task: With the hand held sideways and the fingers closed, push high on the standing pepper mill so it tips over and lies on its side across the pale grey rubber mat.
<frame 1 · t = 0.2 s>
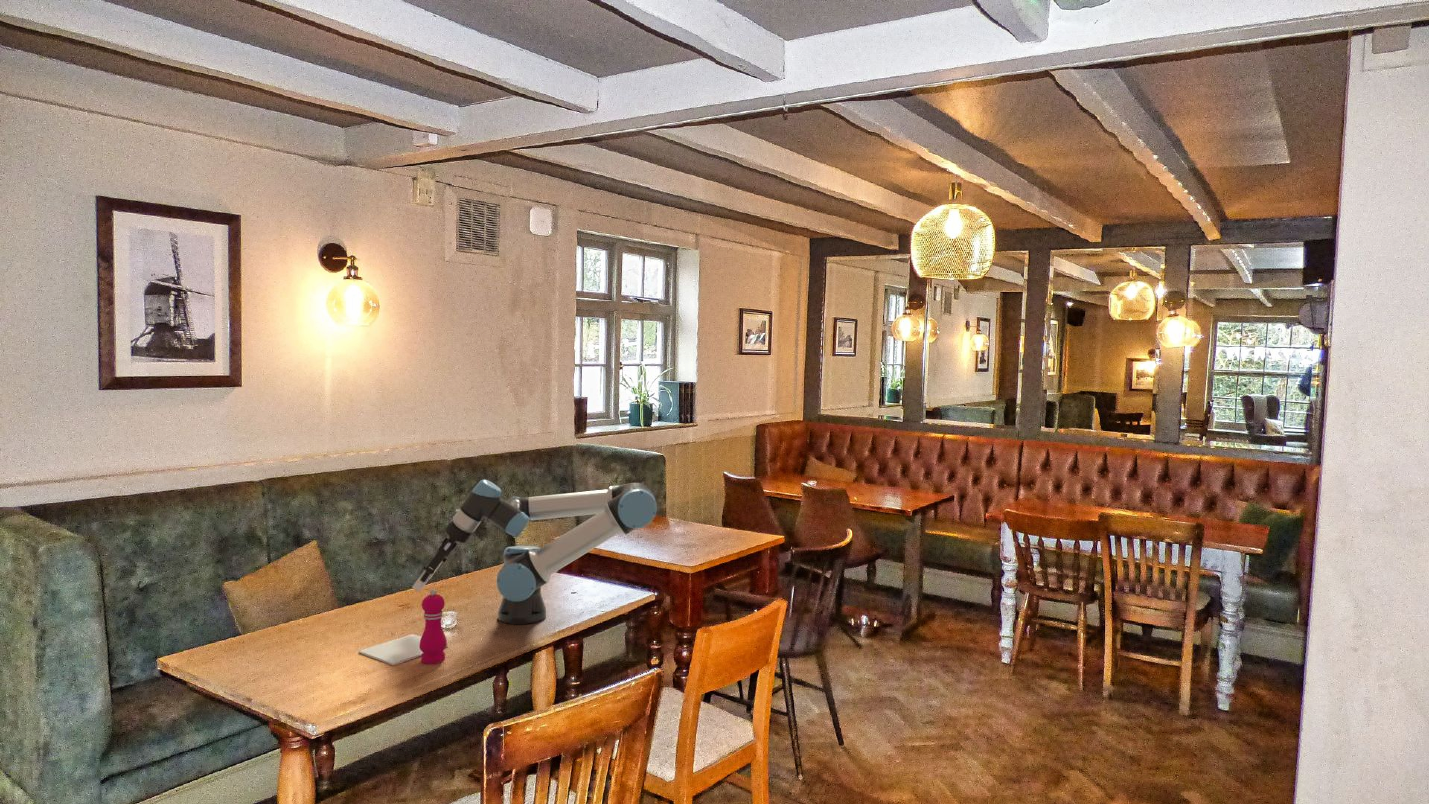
hand: (421, 583, 259), 15 cm above the table, tool tilted 35°, fingers open, 13 cm apart
pepper mill: (433, 660, 237), on the table
grey rubber mat: (403, 650, 244), on the table
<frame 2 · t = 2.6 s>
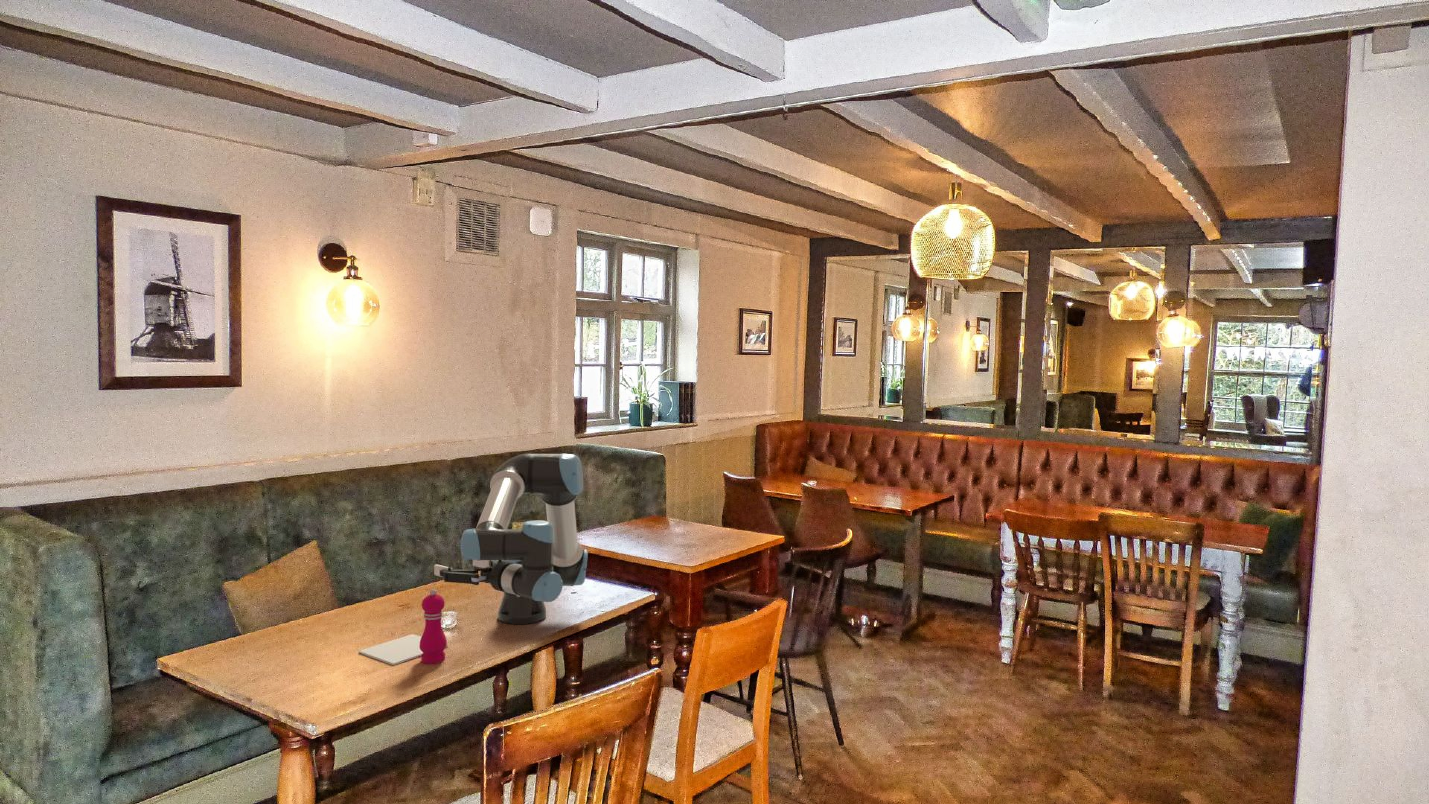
hand: (455, 564, 230), 28 cm above the table, tool horizontal, fingers open, 12 cm apart
nothing on the table moved.
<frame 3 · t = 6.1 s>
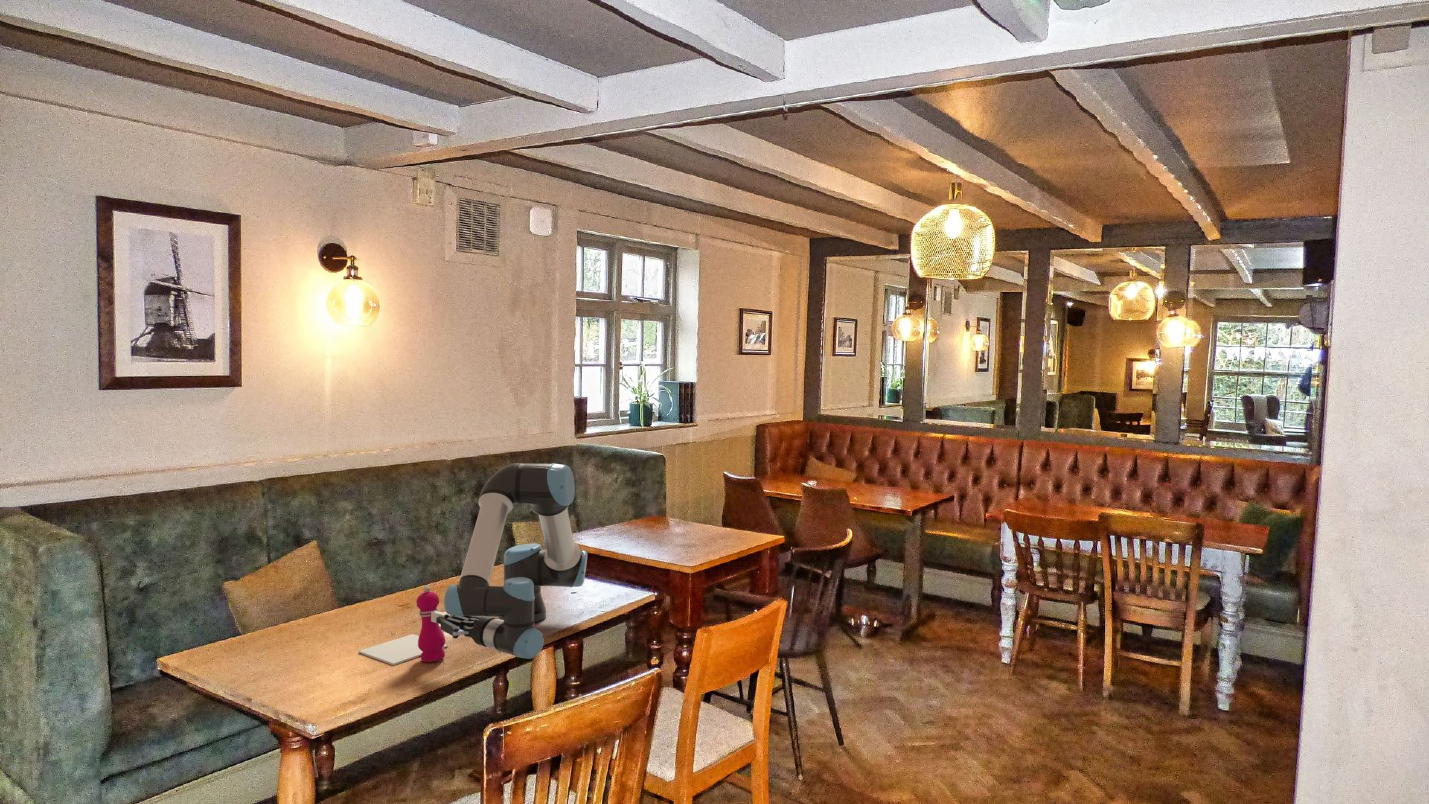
hand: (433, 615, 235), 13 cm above the table, tool horizontal, fingers closed
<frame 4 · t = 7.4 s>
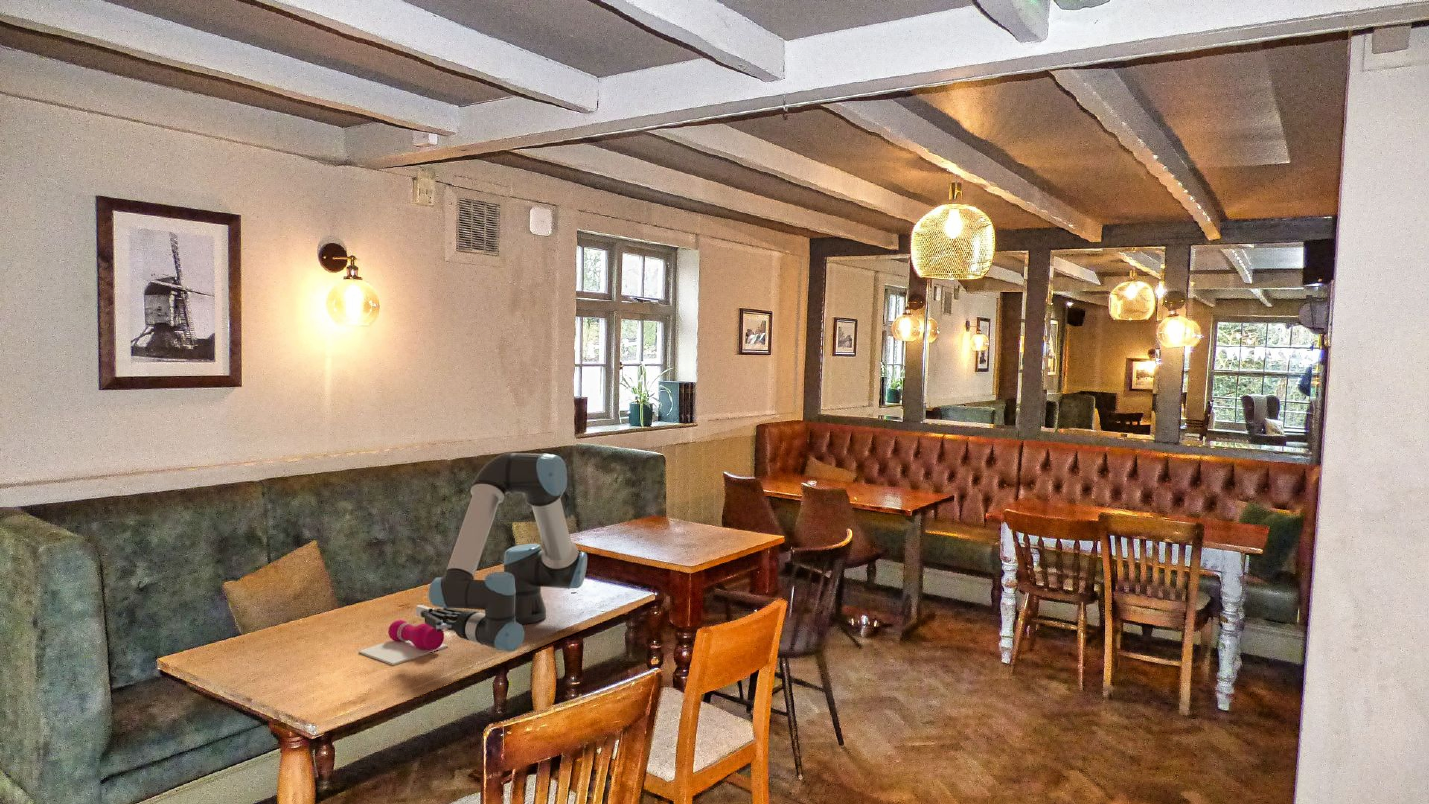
hand: (418, 610, 240), 13 cm above the table, tool horizontal, fingers closed
pepper mill: (436, 638, 242), point 4 cm above the table, touching grey rubber mat
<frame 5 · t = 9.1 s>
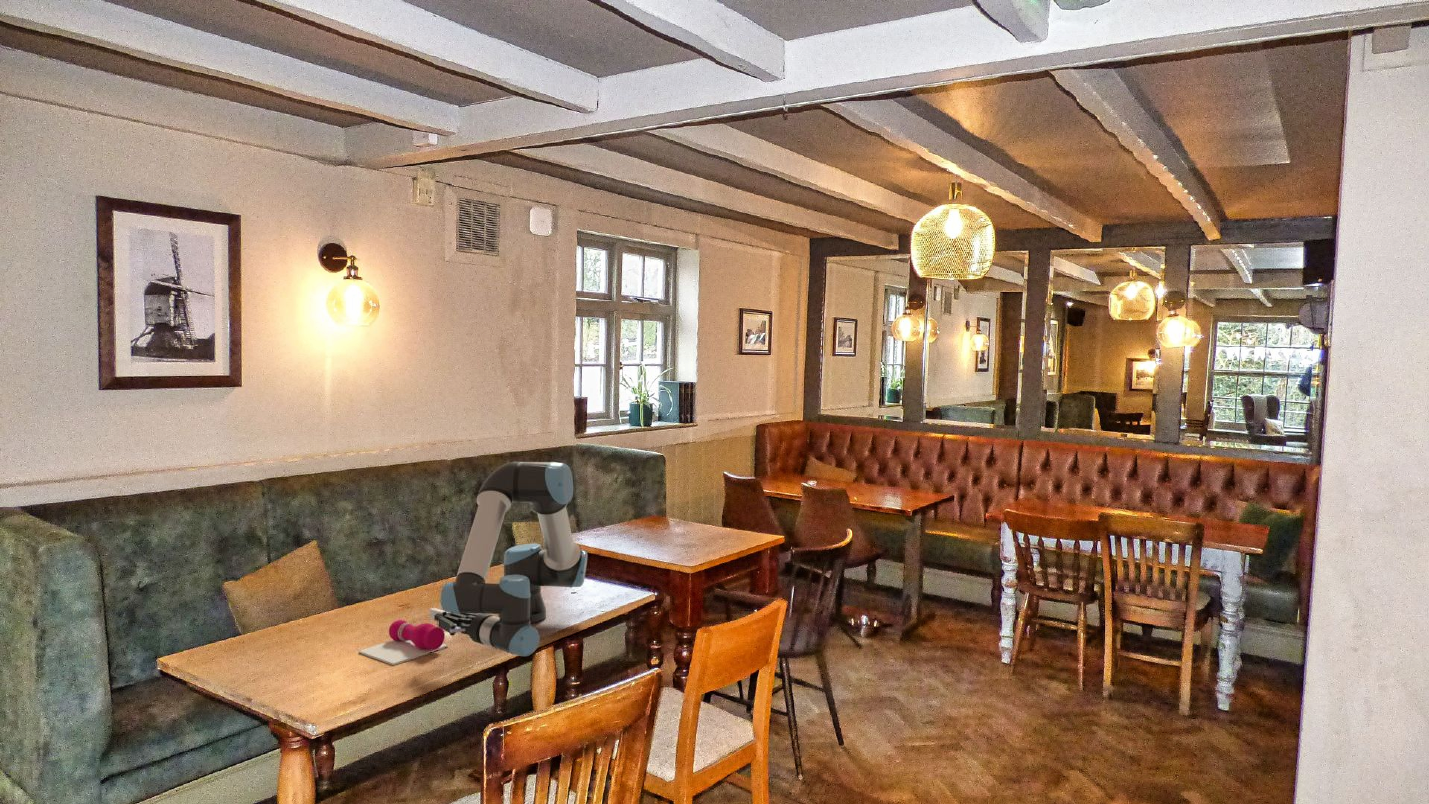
hand: (431, 613, 236), 13 cm above the table, tool horizontal, fingers closed
nothing on the table moved.
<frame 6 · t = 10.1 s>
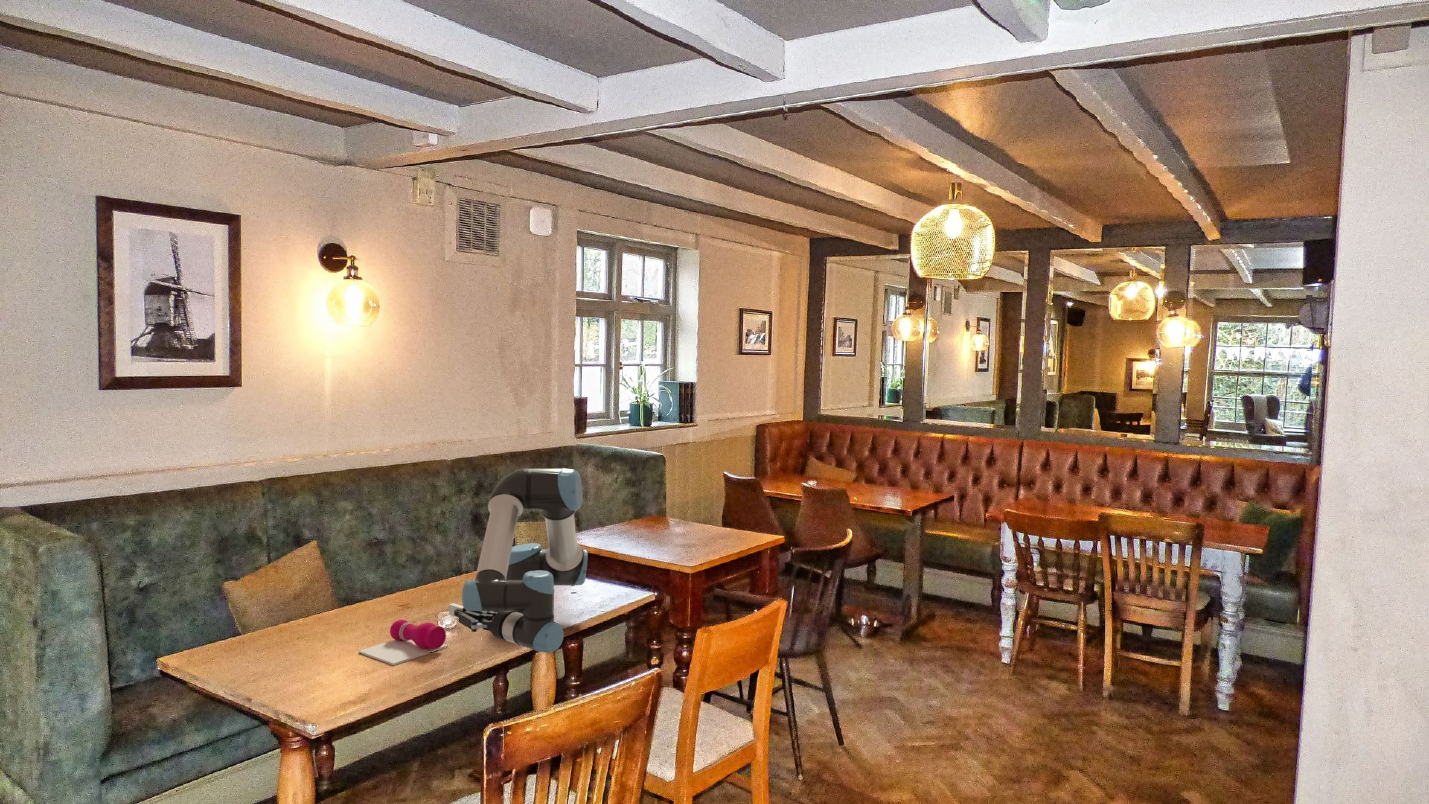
hand: (451, 608, 232), 16 cm above the table, tool horizontal, fingers closed
nothing on the table moved.
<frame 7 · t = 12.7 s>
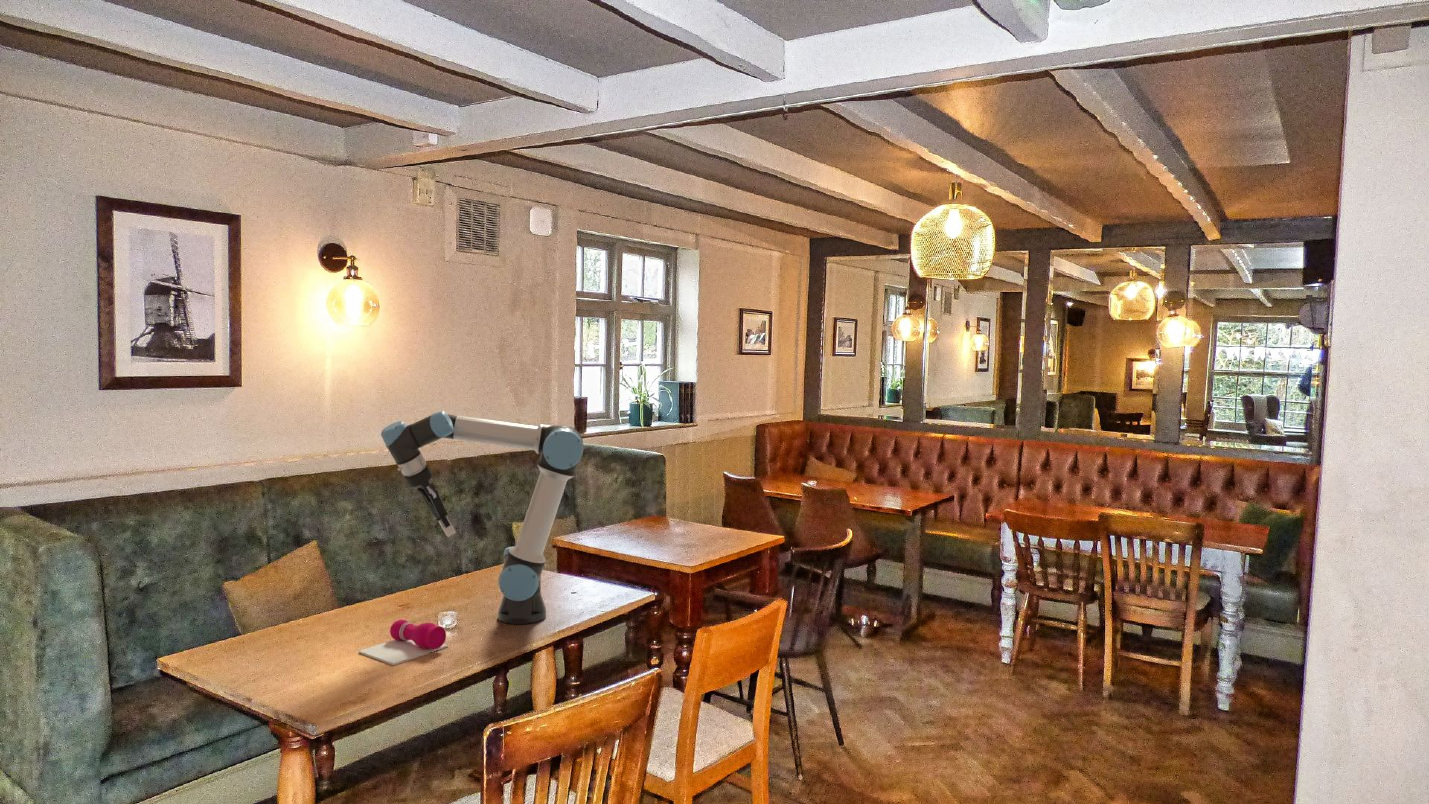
hand: (451, 534, 265), 29 cm above the table, tool tilted 30°, fingers closed
nothing on the table moved.
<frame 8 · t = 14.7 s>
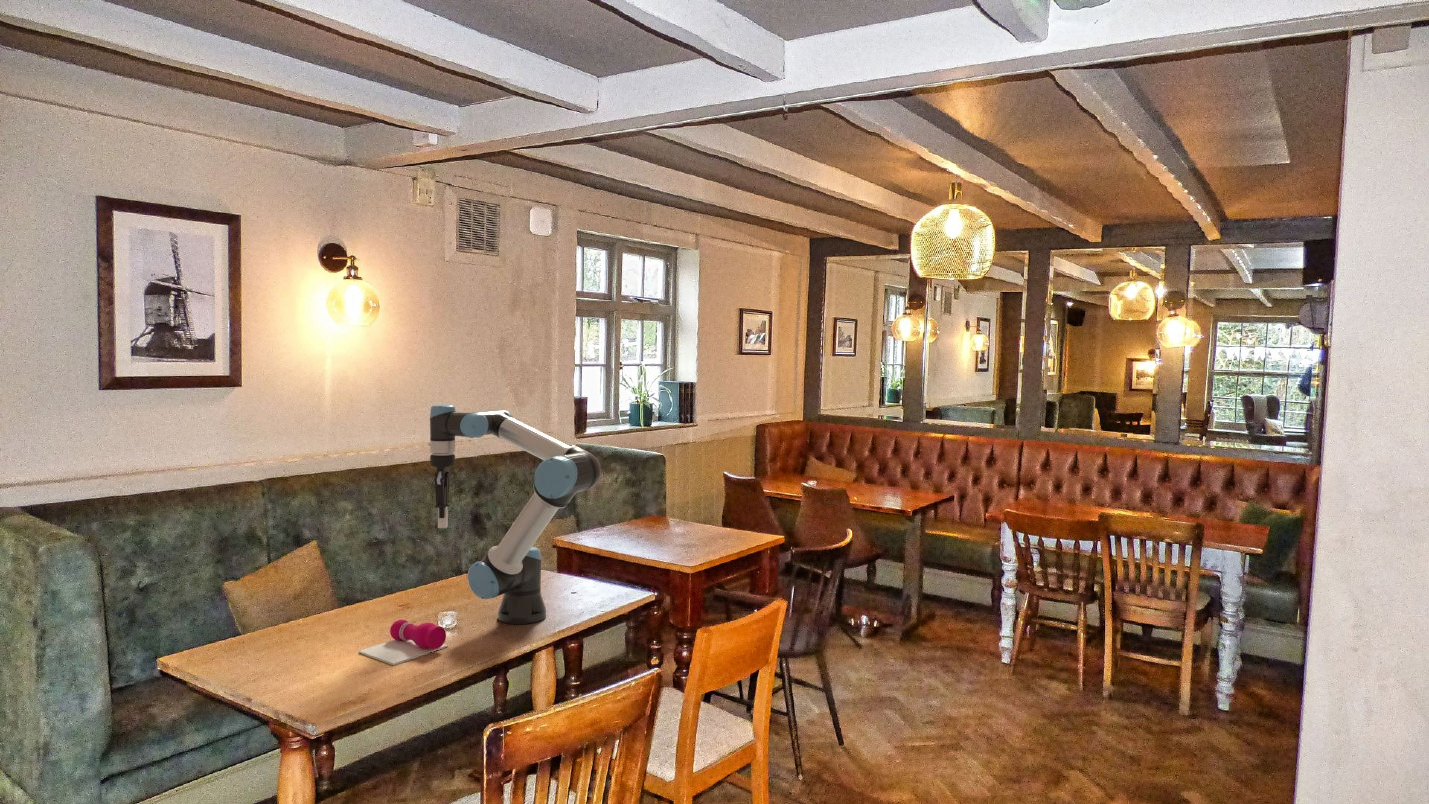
hand: (442, 527, 272), 29 cm above the table, tool pointing down, fingers closed
nothing on the table moved.
at the end: pepper mill tilted 93°; pepper mill touching grey rubber mat; the gripper is holding nothing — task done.
